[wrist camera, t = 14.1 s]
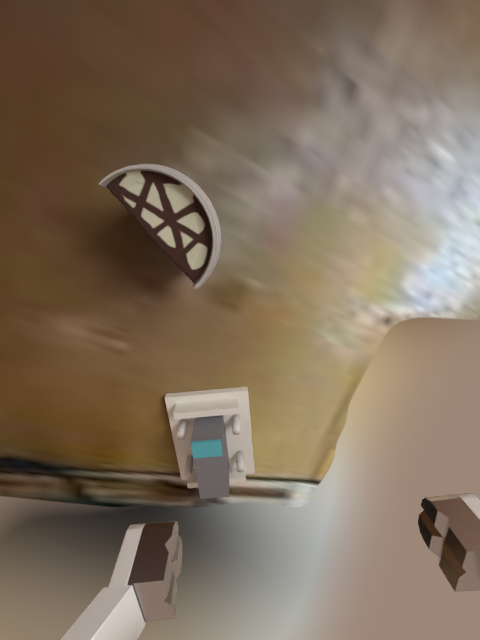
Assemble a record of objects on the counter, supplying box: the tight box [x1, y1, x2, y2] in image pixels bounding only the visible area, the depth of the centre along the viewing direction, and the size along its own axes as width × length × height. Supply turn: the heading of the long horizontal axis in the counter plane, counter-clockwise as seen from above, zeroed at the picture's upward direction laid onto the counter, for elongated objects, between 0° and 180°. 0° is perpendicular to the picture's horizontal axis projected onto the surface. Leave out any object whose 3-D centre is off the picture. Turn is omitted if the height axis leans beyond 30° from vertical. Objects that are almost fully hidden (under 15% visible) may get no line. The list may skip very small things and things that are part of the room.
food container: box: [99, 164, 221, 289], centre depth 29 cm, size 12×6×10 cm, turn 39°
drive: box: [190, 415, 229, 499], centre depth 40 cm, size 4×10×6 cm, turn 5°
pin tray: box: [165, 387, 255, 488], centre depth 42 cm, size 12×16×4 cm
